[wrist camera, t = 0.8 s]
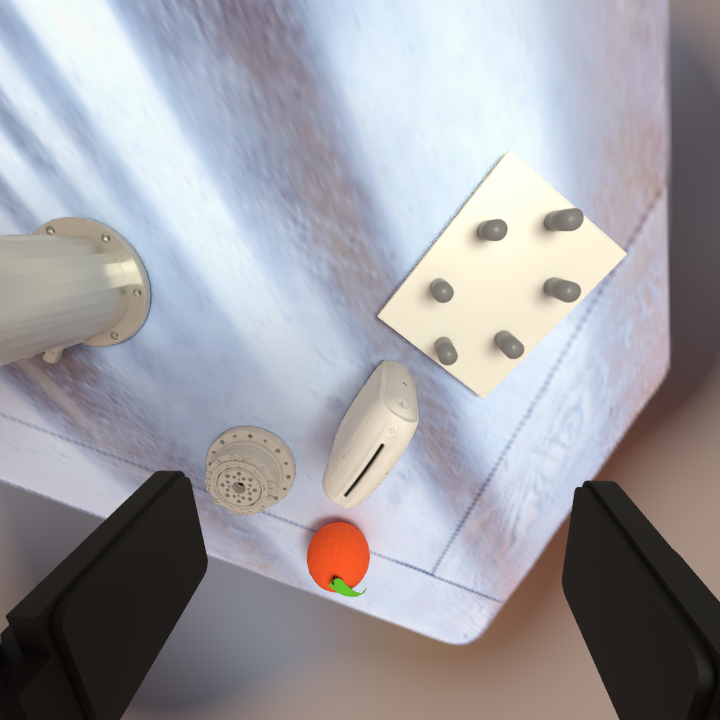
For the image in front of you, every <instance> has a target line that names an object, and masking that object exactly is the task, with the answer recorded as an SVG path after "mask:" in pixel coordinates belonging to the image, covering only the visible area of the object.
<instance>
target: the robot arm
mask: <svg viewBox="0 0 720 720" xmlns="http://www.w3.org/2000/svg"><path fill="white" fill-rule="evenodd" d="M150 299H151V293H150V283H149V280H148V276H147V273H146V270H145V268H144V266H143V263H142V261H141V259H140V258H139V256H138V255H137V253H136V252H135V250H134V249H133V247H132V246H131V245H130V244H129V243H128V242H127V241H126V240H125V239H124V238H123V237H122V236H121V235H120V234H118V233H117V232H116V231H115V230H113V229H112V228H110V227H108V226H106V225H104V224H103V223H100V222H97V221H94V220H92V219H87V218H80V217H63V218H58V219H53V220H51V221H49V222H46V223H45V224H43V225H42V226H41V227H40V228H38V229H37V230H36V231H35V232H34V234H33V235H0V366H3V365H6V364H9V363H12V362H15V361H17V360H20V359H33V358H35V357H36V356H37V354H38V353H41V352H44V351H45V352H44V355H43V360H44V361H46V362H48V363H57V362H59V360H60V358H61V356H62V354H63V350H64V349H65V348H68V347H70V346H73V345H76V344H79V343H81V344H84V345H89V346H95V347H100V346H110V345H114V344H117V343H120V342H122V341H125V340H127V339H128V338H130V337H131V336H133V335H134V334H135V333H136V332H137V331H138V330H139V329H140V328H141V327H142V325H143V323H144V322H145V320H146V318H147V315H148V312H149V308H150ZM207 564H208V559H207V554H206V549H205V545H204V540H203V536H202V531H201V526H200V522H199V517H198V513H197V508H196V503H195V499H194V494H193V490H192V485H191V481H190V479H189V478H188V477H185V475H184V473H183V472H181V471H157V472H155V473H154V474H153V475H152V476H151V477H150V478H149V479H148V480H147V481H146V482H145V483H144V484H143V485H141V486H140V487H139V488H138V489H137V490H136V491H135V492H134V493H133V494H132V495H131V496H130V497H129V498H128V499H127V500H126V501H125V502H124V503H123V504H122V505H121V506H120V507H119V508H118V509H117V510H115V511H114V512H113V513H112V514H111V515H110V516H109V517H108V518H107V519H106V520H105V521H104V522H103V523H102V524H101V525H100V526H99V527H98V528H97V529H96V530H95V531H94V532H93V533H92V534H90V535H89V536H88V537H87V539H85V540H84V541H83V542H82V543H81V544H80V545H79V546H78V547H77V548H76V549H75V550H74V551H73V552H72V553H71V554H70V555H69V556H68V557H67V558H66V559H65V560H63V562H61V563H60V564H59V565H58V566H57V567H56V568H55V569H54V570H53V571H52V572H51V573H50V574H49V575H48V576H47V577H46V578H45V579H44V580H43V581H42V582H41V583H39V584H38V585H37V587H35V588H34V589H33V590H32V591H31V592H30V593H29V594H28V595H27V596H26V597H25V598H24V599H23V600H22V601H21V602H20V603H19V604H18V605H17V606H16V607H15V608H14V609H13V610H11V611H10V612H9V613H8V614H7V615H6V618H7V620H8V622H9V626H8V627H7V628H6V629H5V630H4V631H3V632H2V633H1V634H0V720H120V719H121V717H122V715H123V714H124V712H125V710H126V709H127V707H128V705H129V704H130V702H131V700H132V698H133V697H134V695H135V693H136V692H137V690H138V688H139V686H140V685H141V683H142V681H143V680H144V678H145V676H146V674H147V673H148V671H149V669H150V668H151V666H152V664H153V662H154V661H155V659H156V657H157V655H158V654H159V652H160V650H161V649H162V647H163V645H164V644H165V642H166V640H167V639H168V637H169V635H170V633H171V632H172V630H173V628H174V627H175V625H176V623H177V621H178V620H179V618H180V616H181V614H182V613H183V611H184V609H185V608H186V606H187V604H188V603H189V601H190V599H191V597H192V596H193V594H194V592H195V591H196V589H197V587H198V585H199V584H200V582H201V580H202V579H203V577H204V575H205V573H206V570H207ZM562 586H563V591H564V594H565V597H566V599H567V601H568V604H569V606H570V608H571V611H572V613H573V615H574V617H575V620H576V622H577V624H578V626H579V629H580V631H581V633H582V635H583V638H584V640H585V642H586V644H587V647H588V649H589V651H590V654H591V656H592V658H593V660H594V663H595V665H596V667H597V670H598V672H599V674H600V676H601V679H602V681H603V683H604V685H605V688H606V690H607V692H608V695H609V697H610V699H611V701H612V704H613V706H614V708H615V710H616V713H617V715H618V717H619V720H720V602H719V601H718V600H717V598H716V597H715V596H714V595H713V594H712V593H711V591H710V590H709V589H708V588H707V587H706V585H705V584H704V583H703V582H702V581H701V580H700V579H699V577H698V576H697V575H696V574H695V573H694V572H693V570H692V569H691V568H690V567H689V565H688V564H687V563H686V562H685V561H684V560H683V558H682V557H681V556H680V555H679V554H678V553H677V552H676V551H675V550H673V549H672V548H671V546H670V545H669V544H668V543H667V542H666V541H665V539H664V538H663V537H662V536H661V535H660V533H659V532H658V531H657V530H656V529H655V528H654V526H653V525H652V524H651V523H650V522H649V520H647V518H646V517H645V516H644V515H643V514H642V512H641V511H640V510H639V509H638V507H637V506H636V505H635V504H634V503H633V502H632V500H631V499H630V498H629V497H628V496H627V495H626V493H625V492H624V491H623V490H622V489H621V487H620V486H619V485H618V484H617V483H616V482H613V481H585V482H584V483H583V486H582V487H577V488H576V489H575V492H574V499H573V506H572V512H571V519H570V526H569V533H568V540H567V547H566V554H565V561H564V567H563V574H562Z"/></svg>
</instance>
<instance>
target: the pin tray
mask: <svg viewBox="0 0 720 720" xmlns="http://www.w3.org/2000/svg"><path fill="white" fill-rule="evenodd" d="M626 255H627V253H626V252H625V251H623V250H622V249H621V248H620V247H619V246H618V245H617V244H616V243H614V242H613V241H612V240H611V239H610V238H609V237H608V236H607V235H605V234H604V233H603V232H602V231H601V230H600V229H599V228H597V227H596V226H595V225H594V224H593V223H592V222H591V221H590V220H588V219H587V218H586V217H585V216H584V215H583V213H582V211H581V210H579V209H577V208H575V207H574V206H573V205H571V204H570V203H569V202H568V201H567V200H566V199H565V198H564V197H562V196H561V195H560V194H559V193H558V192H557V191H556V190H555V189H553V188H552V187H551V186H550V185H549V184H548V183H547V182H546V181H544V180H543V179H542V178H541V177H540V176H539V175H538V174H536V173H535V172H534V171H533V170H532V169H531V168H530V167H529V166H527V165H526V164H525V163H524V162H523V161H522V160H521V159H520V158H518V157H517V156H516V155H515V154H514V153H513V152H512V151H511V150H509V151H508V152H507V153H505V154H504V156H503V157H502V158H501V159H500V161H499V162H498V163H497V164H496V166H495V167H494V168H493V169H492V171H491V172H490V173H489V174H488V176H487V177H486V178H485V179H484V181H483V182H482V183H481V185H480V186H479V187H478V188H477V190H476V191H475V192H474V193H473V195H472V196H471V197H470V198H469V200H468V201H467V202H466V203H465V205H464V206H463V207H462V208H461V210H460V211H459V212H458V213H457V215H456V216H455V217H454V219H453V220H452V221H451V222H450V224H449V225H448V226H447V227H446V229H445V230H444V231H443V232H442V234H441V235H440V236H439V237H438V239H437V240H436V241H435V242H434V244H433V245H432V246H431V247H430V249H429V250H428V251H427V252H426V254H425V255H424V256H423V258H422V259H421V260H420V261H419V263H418V264H417V265H416V266H415V268H414V269H413V270H412V271H411V273H410V274H409V275H408V276H407V278H406V279H405V280H404V281H403V283H402V284H401V285H400V286H399V288H398V289H397V290H396V291H395V293H394V294H393V295H392V297H391V298H390V299H389V300H388V302H387V303H386V304H385V305H384V307H383V308H382V309H381V310H380V312H379V313H378V316H377V317H379V318H380V319H381V320H383V321H384V322H385V323H386V324H388V325H389V326H390V327H392V328H393V329H394V330H395V331H397V332H398V333H399V334H401V335H402V336H403V337H404V338H406V339H407V340H408V341H410V342H411V343H412V344H413V345H415V346H416V347H417V348H419V349H420V350H421V351H422V352H424V353H425V354H426V355H428V356H429V357H430V358H432V359H433V360H434V361H435V362H437V363H438V364H439V365H441V366H442V367H443V368H444V369H446V370H447V371H448V372H450V373H451V374H452V375H453V376H455V377H456V378H457V379H459V380H460V381H461V382H462V383H464V384H465V385H466V386H468V387H469V388H470V389H471V390H473V391H474V392H475V393H477V394H478V395H479V396H481V397H482V398H483V399H484V398H485V397H486V396H487V395H488V394H489V393H490V392H491V391H492V390H493V389H494V388H495V387H496V386H497V385H498V384H499V383H500V382H501V381H502V380H503V379H504V378H505V377H506V376H507V375H508V374H509V373H510V372H511V371H512V370H513V369H514V368H515V367H516V366H517V365H518V364H519V363H520V362H521V361H522V360H523V359H524V358H525V357H526V356H527V355H528V354H529V353H530V352H531V351H532V350H533V348H534V347H535V346H536V345H537V344H538V343H539V342H540V341H541V340H542V339H543V338H544V337H545V336H546V335H547V334H548V333H549V332H550V331H551V330H552V329H553V328H554V327H555V326H556V325H557V324H558V323H559V322H560V321H561V320H562V319H563V318H564V317H565V316H566V315H567V314H568V313H569V312H570V311H571V310H572V309H573V308H574V307H575V306H576V305H577V304H578V303H579V302H580V301H581V300H582V299H583V298H584V297H585V296H586V295H587V294H588V293H589V292H590V291H591V290H592V289H593V288H594V287H595V286H596V285H597V284H598V283H599V282H600V281H601V280H602V279H603V278H604V277H605V276H606V275H607V274H608V273H609V272H610V271H611V270H612V269H613V268H614V267H615V266H616V265H617V264H618V263H619V262H620V261H621V260H622V259H623V258H624V257H625V256H626Z"/></svg>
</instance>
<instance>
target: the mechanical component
mask: <svg viewBox="0 0 720 720" xmlns="http://www.w3.org/2000/svg"><path fill="white" fill-rule="evenodd" d="M206 467H207V473H206V479H205V483H206V484H207V487H206V490H208V491H209V492H210V494H211V495H212V497H213V498H214V499H215V504H220V505H221V506H222V507H224V508H226V509H228V511H229V513H233V512H235V513H237V515H239V516H240V515H242V514H245V515H246V516H249V515H250V514H254V513H257V512H260V511H261V512H262V511H264V509H265V508H266V507H267V506H271V505H273V504H275V503H277V502H279V501H280V500H282V499H283V498H284V497H285V496H286V495H287V493H288V492H289V490H290V488H291V486H292V484H293V481H294V477H295V474H296V471H295V462H294V458H293V455H292V454H291V452H290V450H289V448H288V447H287V446H286V445H285V443H284V442H283V441H282V440H281V439H280V438H278V437H277V436H276V435H274V434H273V433H271V432H268V431H266V430H264V429H262V428H257V427H251V426H244V427H236V428H233V429H230V430H228V431H226V432H225V433H224V434H222V435H221V436H220V437H219V438H218V439H217V440H216V441H215V442H214V444H213V445H212V446H211V448H210V449H209V452H208V455H207V461H206Z"/></svg>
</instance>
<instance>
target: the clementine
mask: <svg viewBox="0 0 720 720" xmlns="http://www.w3.org/2000/svg"><path fill="white" fill-rule="evenodd" d="M369 559H370V554H369V547H368V544H367V541H366V539H365V537H364V536H363V534H362V533H361V532H360V531H359V530H358V529H357V528H355V527H354V526H352V525H351V524H348V523H344V522H334V523H331V524H327V525H325V526H324V527H322V528H321V529H320V530H319V531H318V532H317V533H316V534H315V535H314V536H313V538H312V540H311V542H310V544H309V547H308V552H307V564H308V569H309V573H310V574H311V576H312V578H313V579H314V581H315V582H316V583H317V584H318V585H319V586H320V587H321V588H323V589H325V590H327V591H330V592H338V593H340V594H342V595H345V596H350V597H355V596H359V595H361V594H363V593H364V592H365V590H366V589H365V590H364V592H363V593H358V592H355V591H353V590H352V588H353V587H355V586H356V585H358V584H359V583H360V582H361V580H362V579H363V577H364V576H365V574H366V572H367V569H368V565H369Z"/></svg>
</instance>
